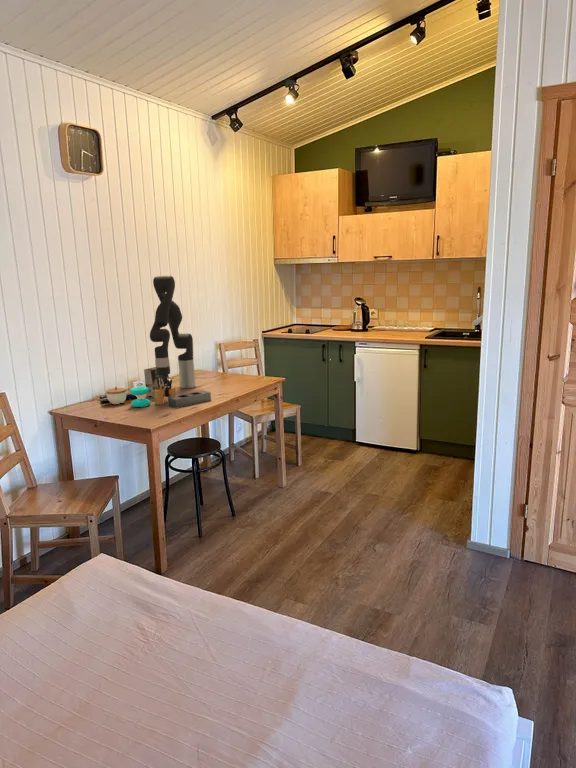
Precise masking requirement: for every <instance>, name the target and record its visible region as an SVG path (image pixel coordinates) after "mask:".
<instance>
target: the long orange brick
mask: <svg viewBox="0 0 576 768" xmlns="http://www.w3.org/2000/svg"><path fill="white" fill-rule="evenodd" d="M176 392H177V391H176V387H173V386H171V389H169V397H173V396H177V393H176ZM154 394H155V397H154V403H156V404H155V405H158V404H160V405H164V397H165V396H164V395H165V389H159V390H154Z"/></svg>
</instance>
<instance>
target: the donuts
mask: <svg viewBox="0 0 576 768" xmlns="http://www.w3.org/2000/svg"><path fill="white" fill-rule="evenodd" d="M148 392H149V388H148V387H146V386H142V385H141V386H134V387H132V388H130V389H129V394H130V395H132V396H144V395H146V394H147V393H148ZM150 405H151V401H150V400H149V399H148V398H143V397H142V398H135V399H133V400H132V401H131V403H130V406H132V407H133V408H135V407H141V408H146V407H148V406H150ZM145 406H146V407H145Z"/></svg>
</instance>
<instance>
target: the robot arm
mask: <svg viewBox="0 0 576 768" xmlns="http://www.w3.org/2000/svg"><path fill="white" fill-rule="evenodd" d="M152 284H153V288H154V291H155V293H156V295H157V298H158V300H159V304H158V306H157V308H156V310H155V315H154V322H153V324H152V327H151V329H150V332H149V339H150V341H152V342H153V343H162V345H159V346H155V348H154V359H155V360H154V362H155V367H156V374H157V375H159V377H156V380H157V384H158V387H159V388H160V389H165V395H164V396H163V397H165V398H168V397H169V389H171V387H172V385H173V380H172V379H170V377H169V375H170V374H171V365H170V358H169V343H170V338H172V341H173V345H174V347H175V348H176V349H178V350H181V349H183V350H185V352H184V353H180V354H178V356H177V363H178V378H179V380H178V381H179V387H180V389H192V388H195V387H196V377H195V364H194V342H193V335H192V334H191V333H180V332H179V328H180V326H181V323H182V321H183V315H182V311H181V308H180V306H179V305H178V304H177V303H176V302H175V301H174V300H173V297H174V293H175V289H176V281H175V277H174V276H172V275H158V276H154V278H153V280H152ZM167 326H168V328H169V329H170V331H169V330H168V328H165V327H167ZM171 336H172V337H171Z"/></svg>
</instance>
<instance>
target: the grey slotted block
mask: <svg viewBox="0 0 576 768" xmlns="http://www.w3.org/2000/svg"><path fill="white" fill-rule="evenodd" d="M211 393H212V392H210V391H207V390H203V389H202V390H199V391H194V392H188V393H183V394H179V395H176V396H173V397H167V403H168V405H169V406H168V407H171V406H172V407H171V408H174V407H175V409H178V408H177V407H179V408H182V407H181V406H183V407H186V405H188V406H191V405H190V404H192V405H197V404H201V403H205V401H206V402H209V400H210V401H212V397H211V395H212V394H211ZM200 402H201V403H200ZM196 403H197V404H196Z"/></svg>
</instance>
